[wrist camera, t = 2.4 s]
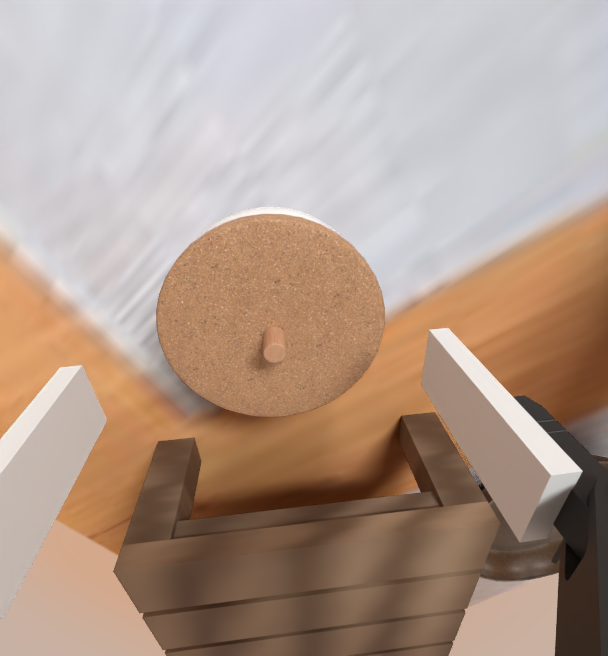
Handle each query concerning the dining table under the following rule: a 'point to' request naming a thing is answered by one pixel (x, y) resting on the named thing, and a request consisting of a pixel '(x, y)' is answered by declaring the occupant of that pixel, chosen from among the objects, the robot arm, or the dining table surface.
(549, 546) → the plant saucer
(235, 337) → the lidded jar
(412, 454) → the walnut rack
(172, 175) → the dining table surface
